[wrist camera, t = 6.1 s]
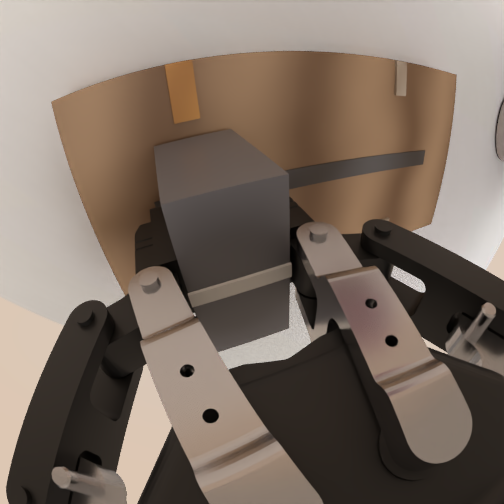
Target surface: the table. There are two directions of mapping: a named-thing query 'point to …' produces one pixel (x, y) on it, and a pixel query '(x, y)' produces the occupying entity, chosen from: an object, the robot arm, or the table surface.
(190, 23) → the table surface
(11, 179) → the table surface
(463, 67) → the table surface
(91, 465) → the robot arm
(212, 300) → the fader cap
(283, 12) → the table surface
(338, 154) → the fader base
